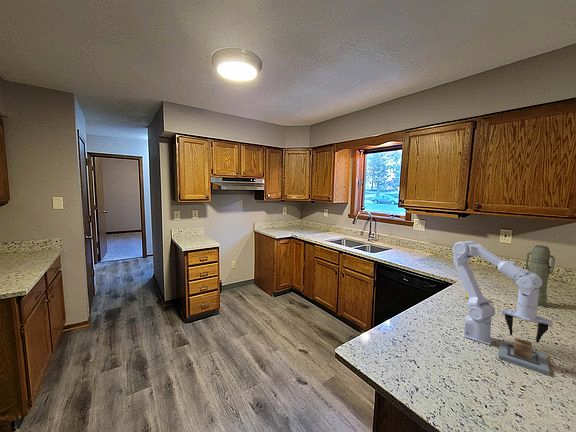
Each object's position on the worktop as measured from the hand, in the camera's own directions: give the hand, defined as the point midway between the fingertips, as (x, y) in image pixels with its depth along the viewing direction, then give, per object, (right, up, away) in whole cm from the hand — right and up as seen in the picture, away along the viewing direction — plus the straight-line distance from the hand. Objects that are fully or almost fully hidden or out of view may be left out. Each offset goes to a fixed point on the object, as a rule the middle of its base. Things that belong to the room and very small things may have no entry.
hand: (523, 337), depth 101 cm
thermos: (+55, -5, +52) cm, 76 cm away
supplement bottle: (+20, -4, +57) cm, 61 cm away
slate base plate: (0, -8, +1) cm, 8 cm away
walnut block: (0, -7, 0) cm, 7 cm away
